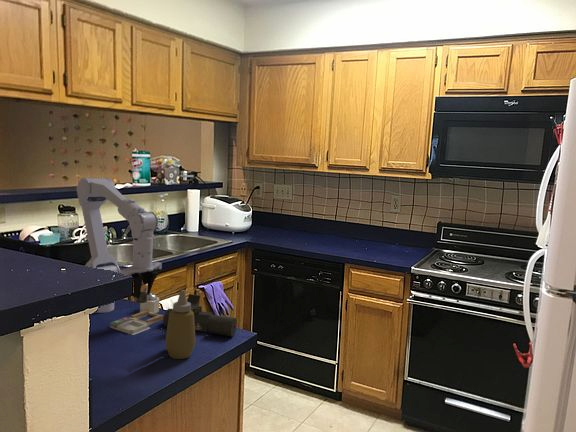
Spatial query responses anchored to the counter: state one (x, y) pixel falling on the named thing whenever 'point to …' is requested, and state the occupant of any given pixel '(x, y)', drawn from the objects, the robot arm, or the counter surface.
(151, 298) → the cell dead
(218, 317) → the laser sight
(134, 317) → the tan square tray
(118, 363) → the counter surface
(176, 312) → the squeeze bottle
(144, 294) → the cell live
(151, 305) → the cup
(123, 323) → the cradle
